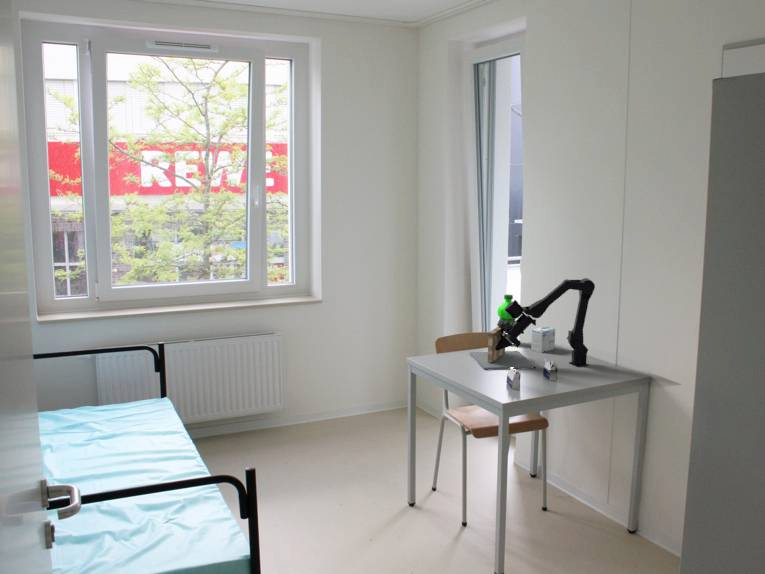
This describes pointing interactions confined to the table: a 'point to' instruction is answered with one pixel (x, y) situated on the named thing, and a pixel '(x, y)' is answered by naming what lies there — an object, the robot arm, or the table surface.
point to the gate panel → (494, 344)
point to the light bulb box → (543, 339)
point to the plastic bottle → (502, 312)
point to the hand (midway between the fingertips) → (495, 349)
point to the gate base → (503, 360)
